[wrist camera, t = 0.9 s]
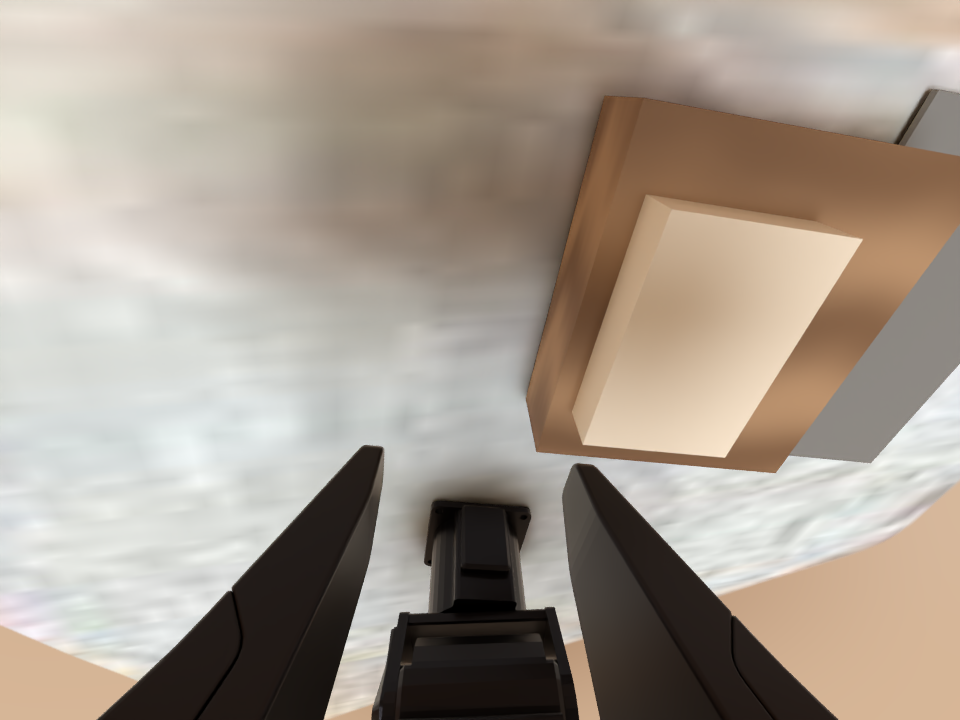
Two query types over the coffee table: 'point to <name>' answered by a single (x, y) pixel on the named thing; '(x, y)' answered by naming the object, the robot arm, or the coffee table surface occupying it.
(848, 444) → the mat
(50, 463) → the coffee table surface
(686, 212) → the cream rectangular block
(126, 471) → the coffee table surface
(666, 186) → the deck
